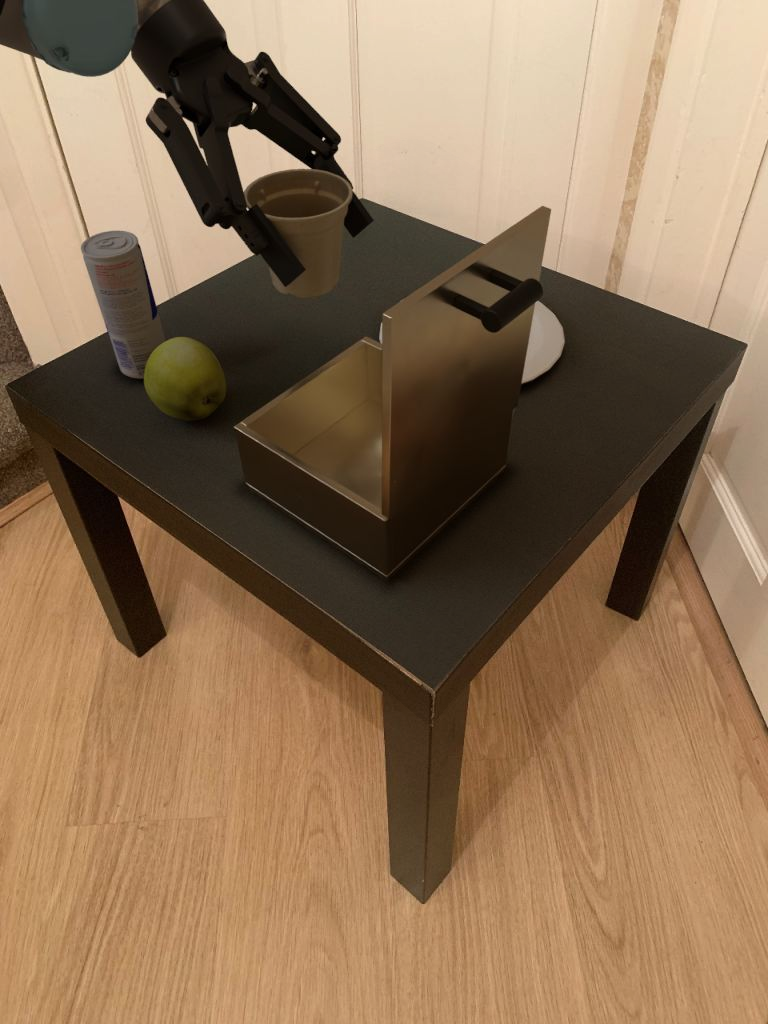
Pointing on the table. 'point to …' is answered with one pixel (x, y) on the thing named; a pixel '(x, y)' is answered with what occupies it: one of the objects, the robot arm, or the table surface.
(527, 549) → the table surface
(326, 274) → the flower pot
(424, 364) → the lid
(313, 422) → the bronze square open box
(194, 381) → the apple
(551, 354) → the plate
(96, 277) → the beverage can
